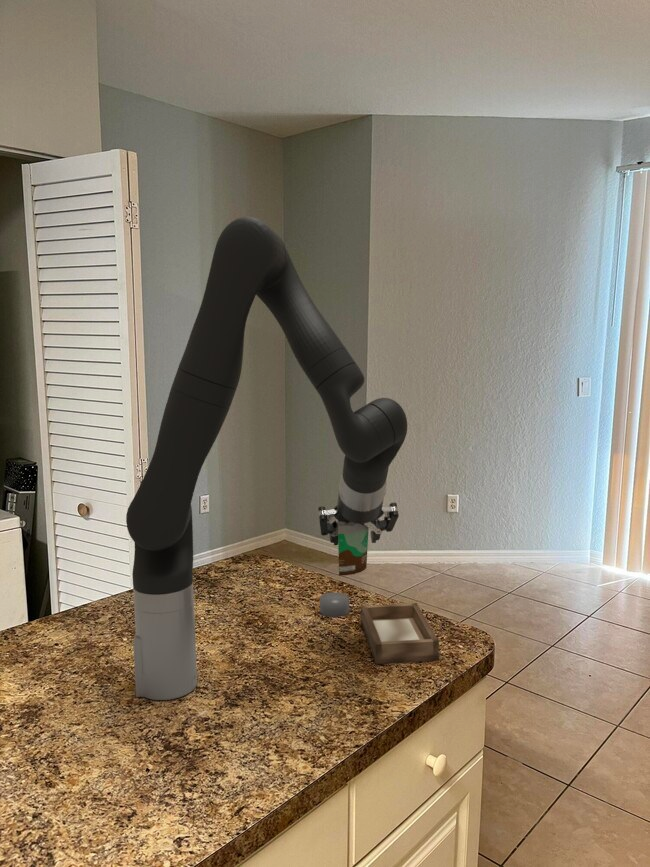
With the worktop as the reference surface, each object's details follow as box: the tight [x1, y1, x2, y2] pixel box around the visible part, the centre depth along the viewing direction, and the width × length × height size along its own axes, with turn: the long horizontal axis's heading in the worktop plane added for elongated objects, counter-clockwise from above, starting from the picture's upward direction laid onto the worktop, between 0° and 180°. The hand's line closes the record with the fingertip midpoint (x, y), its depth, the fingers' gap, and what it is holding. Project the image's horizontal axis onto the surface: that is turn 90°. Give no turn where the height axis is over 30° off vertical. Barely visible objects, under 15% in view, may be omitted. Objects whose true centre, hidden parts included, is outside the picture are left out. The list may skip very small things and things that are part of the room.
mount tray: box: [360, 602, 440, 665], centre depth 127 cm, size 11×17×4 cm, turn 5°
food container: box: [337, 521, 370, 576], centre depth 125 cm, size 12×6×10 cm, turn 179°
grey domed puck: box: [319, 591, 350, 618], centre depth 141 cm, size 6×6×3 cm
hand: (354, 539), depth 127 cm, fingers closed on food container, 6 cm apart
